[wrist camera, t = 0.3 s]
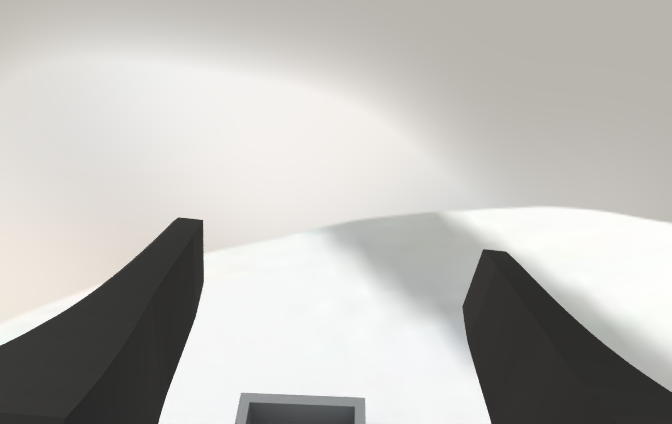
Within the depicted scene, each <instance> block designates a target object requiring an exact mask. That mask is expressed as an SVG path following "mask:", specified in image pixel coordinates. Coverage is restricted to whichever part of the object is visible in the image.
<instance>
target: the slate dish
mask: <svg viewBox="0 0 672 424" xmlns="http://www.w3.org/2000/svg"><path fill="white" fill-rule="evenodd" d="M235 424H365V398H354V397H330V396H306V395H282V394H257V393H241V396H240V401H239V406H238V411H237V416H236V421H235Z"/></svg>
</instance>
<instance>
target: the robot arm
mask: <svg viewBox="0 0 672 424" xmlns="http://www.w3.org/2000/svg"><path fill="white" fill-rule="evenodd" d="M203 283H204V264H203V220H197V219H188V218H177V219H176V220H174V221H173V222H172V223H171V224H170V225H169V226H168V227H167V228H166V229H165V230H164V231H163V232H162V233H161V234H160V235H159V236H158V237H157V238H156V239H155V240H154V241H153V242H152V243H151V244H150V245H149V246H147V247H146V248H145V249H144V250H143V251H142V252H141V253H140V254H139V255H137V256H136V257H135V258H134V259H133V260H132V261H131V262H130V263H128V264H127V265H126V266H125V267H124V268H123V269H121V270H120V271H119V272H118V273H116V274H115V275H114V276H113V277H111V278H110V279H109V280H108V281H106V282H105V283H104V284H103V285H101V286H100V287H99V288H97V289H96V290H95V291H93V292H92V293H91V294H89V295H88V296H86V297H85V298H84V299H82V300H81V301H79V302H78V303H76V304H75V305H73V306H72V307H70V308H69V309H67V310H65V311H64V312H62V313H61V314H59V315H57V316H55V317H54V318H52V319H50V320H48V321H46V322H45V323H43V324H41V325H39V326H38V327H36V328H34V329H32V330H30V331H29V332H27V333H25V334H23V335H21V336H19V337H17V338H15V339H13V340H11V341H9V342H7V343H5V344H3V345H1V346H0V424H158V422H159V418H160V415H161V411H162V407H163V404H164V401H165V398H166V395H167V392H168V389H169V387H170V384H171V382H172V379H173V376H174V374H175V371H176V368H177V366H178V363H179V360H180V358H181V355H182V352H183V350H184V347H185V344H186V342H187V339H188V336H189V333H190V331H191V328H192V325H193V323H194V320H195V317H196V313H197V309H198V305H199V301H200V296H201V292H202V287H203ZM463 314H464V322H465V329H466V335H467V341H468V345H469V348H470V352H471V355H472V359H473V362H474V366H475V369H476V373H477V376H478V379H479V383H480V386H481V389H482V393H483V396H484V399H485V403H486V406H487V409H488V413H489V416H490V420H491V424H672V392H670V391H669V390H667V389H666V388H664V387H663V386H661V385H660V384H658V383H657V382H655V381H654V380H652V379H651V378H649V377H648V376H646V375H645V374H643V373H642V372H641V371H639V370H638V369H636V368H635V367H633V366H632V365H631V364H629V363H628V362H627V361H625V360H624V359H623V358H621V357H620V356H619V355H618V354H616V353H615V352H614V351H612V350H611V349H610V348H608V347H607V346H606V345H605V344H603V343H602V342H601V341H600V340H599V339H597V338H596V337H595V336H594V335H593V334H591V333H590V332H589V331H588V330H587V329H586V328H585V327H583V326H582V325H581V324H580V323H579V322H578V321H577V320H576V319H574V318H573V317H572V316H571V315H570V314H569V313H568V312H567V311H566V310H565V309H564V308H563V307H562V306H561V305H560V304H559V303H557V302H556V301H555V300H554V299H553V298H552V297H551V296H550V295H549V294H548V293H547V292H546V291H545V290H544V289H543V288H542V287H541V286H540V285H539V284H538V283H537V282H536V281H535V280H534V279H533V278H532V277H531V276H530V274H529V273H528V272H527V271H526V270H525V269H524V268H523V267H522V266H521V265H520V264H519V263H518V262H517V261H516V260H515V259H514V258H512V257H511V256H510V255H509V254H508V253H507V252H504V251H495V250H485V249H483V252H482V254H481V257H480V260H479V263H478V265H477V268H476V271H475V274H474V276H473V279H472V282H471V285H470V287H469V290H468V293H467V296H466V299H465V301H464V304H463Z"/></svg>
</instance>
